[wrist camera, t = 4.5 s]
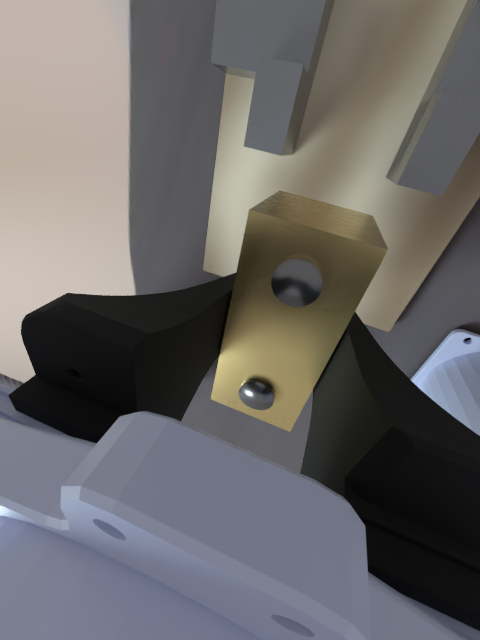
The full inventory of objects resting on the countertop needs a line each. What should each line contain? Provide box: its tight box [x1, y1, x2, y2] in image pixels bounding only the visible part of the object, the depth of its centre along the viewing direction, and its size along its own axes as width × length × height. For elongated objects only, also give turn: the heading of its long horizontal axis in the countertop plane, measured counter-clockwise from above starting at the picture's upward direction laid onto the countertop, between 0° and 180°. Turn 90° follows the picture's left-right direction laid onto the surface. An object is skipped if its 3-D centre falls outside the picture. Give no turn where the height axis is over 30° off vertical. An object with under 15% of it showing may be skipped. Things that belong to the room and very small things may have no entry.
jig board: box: [203, 0, 480, 332], centre depth 14 cm, size 14×18×1 cm
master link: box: [211, 190, 388, 432], centre depth 11 cm, size 4×8×4 cm, turn 169°
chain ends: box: [211, 0, 480, 196], centre depth 10 cm, size 14×9×4 cm, turn 79°
